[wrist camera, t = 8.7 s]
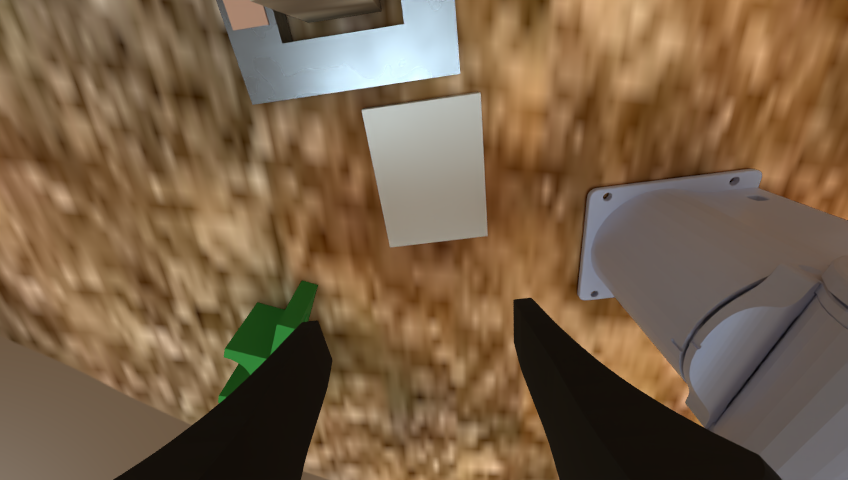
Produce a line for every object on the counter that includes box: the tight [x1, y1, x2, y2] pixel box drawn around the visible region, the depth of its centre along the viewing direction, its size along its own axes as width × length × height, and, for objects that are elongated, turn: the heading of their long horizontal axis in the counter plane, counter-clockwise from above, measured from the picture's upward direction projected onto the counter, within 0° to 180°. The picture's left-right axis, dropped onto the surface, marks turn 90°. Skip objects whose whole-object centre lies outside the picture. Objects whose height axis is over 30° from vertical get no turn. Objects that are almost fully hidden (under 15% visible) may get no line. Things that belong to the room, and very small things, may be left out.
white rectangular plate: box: [362, 92, 488, 247], centre depth 19 cm, size 6×8×1 cm
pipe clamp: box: [218, 281, 318, 403], centre depth 23 cm, size 11×4×5 cm, turn 160°
